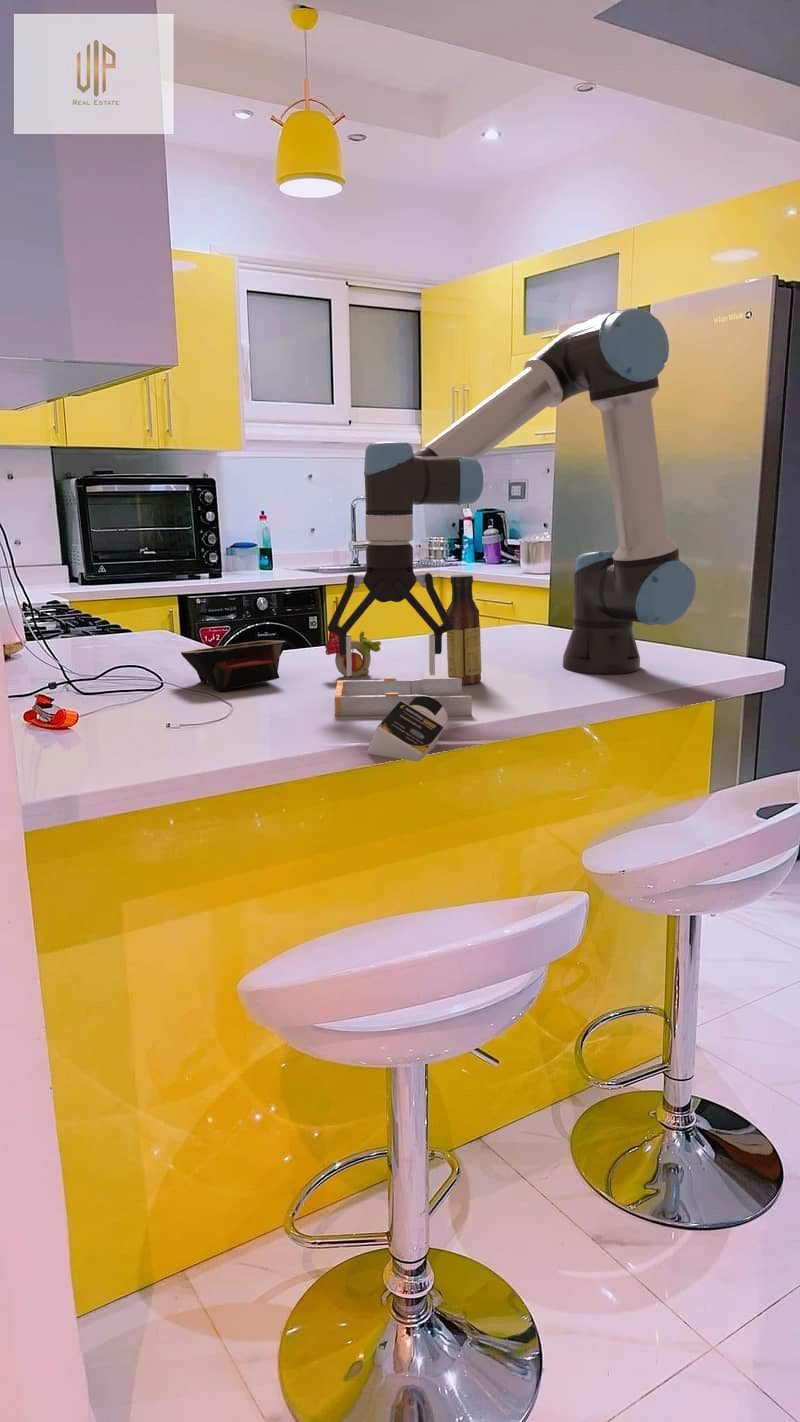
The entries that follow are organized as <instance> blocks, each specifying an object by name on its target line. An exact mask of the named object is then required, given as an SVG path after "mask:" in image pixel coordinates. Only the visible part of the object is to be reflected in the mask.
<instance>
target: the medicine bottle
mask: <svg viewBox="0 0 800 1422" xmlns="http://www.w3.org/2000/svg"><path fill="white" fill-rule="evenodd" d="M385 716H386V717H385V718H383V719H382V721H381V722H380V723H379V725H378V726H376V728H375V731H374V734H373V736H372V739H371V741H370V743H369V746H368V749H367V751H366V754H368V755H373V756H380V757H385V758H393V759H399V760H405V761H409V762H410V761H411V762H420V761H421V760H422V759H424V758H425V757H426V756H427V755H428V754H430V752H432V750H433V749H435V747H436V745H437V743H438V740H440V736H442V732H443V731H444V729H445V727H446V726H447V725H448V716H447V713H446V711H445V709H444V707H443V706H442V705H441V704H440V703H439V702H438V701H437V700H435V699H433V698H431V697H428V696H418V697H416V698H414V699H413V700H412V701H411V702H410V704H409V705H408V704H406V703H405V702H403V701H400V702H399V703H398V704H397V705H396V706H395V707H394V709H393V710H392V711H391V712H390V713H389V714H388V715H385Z"/></svg>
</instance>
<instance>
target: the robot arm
mask: <svg viewBox="0 0 800 1422" xmlns="http://www.w3.org/2000/svg"><path fill="white" fill-rule="evenodd" d="M669 352H670V344H669V338H668V334H667V331H666V330H665V327H664V326H663V324H662V322H661V321H660V320H659V319H658V318H657V317H655V316H654V315H653V314H652V312H649V311H648V310H645V309H643V308H639V307H638V308H636V307H635V308H628V309H627V308H625V309H618V310H616V311H612V312H610V313H607V314H604V315H601V316H598V317H595V318H592V319H589V320H584V321H581V322H579V323H577V324H574V325H573V326H571V327H569V328H568V329H566V330H564V331H563V332H562V333H561V334H560V335H558V336H557V337H556V338H555V339H553V340H552V341H550V343H548V344H547V345H545V346H544V347H543V348H542V349H540V351H538V352H537V353H536V354H534V355H533V356H532V357H530V359H529V358H528V360H527V361H526V362H525V364H524V365H523V371H521V372H520V373H519V374H518V375H517V376H515V377H514V378H512V379H511V380H510V381H508V382H507V383H506V384H505V385H503V386H501V388H499V389H498V390H496V391H495V392H494V393H492V394H491V395H490V396H489V397H487V398H486V399H484V401H482V402H481V403H479V404H478V405H477V406H476V407H474V408H472V410H470V411H469V412H467V413H466V414H464V416H462V417H461V418H460V419H458V420H457V421H455V422H453V424H451V426H449V427H448V428H446V429H445V430H443V431H442V432H441V433H440V434H438V435H437V436H435V438H433V439H432V440H430V441H429V442H427V443H426V444H424V446H423V447H421V448H420V449H418V450H417V451H415V452H414V449H413V445H412V444H411V443H409V442H406V441H405V442H401V441H381V442H380V441H379V442H371V443H369V444H368V445H367V447H366V448H365V453H364V454H365V456H364V471H363V476H364V491H365V492H364V493H365V494H364V496H365V497H364V498H365V500H364V501H365V518H364V519H365V520H364V521H365V540H366V541H367V542H369V544H367V545H366V547H365V563H366V564H365V574H364V575H357V574H354V573H349V574H348V575H347V577H346V584H345V585H346V586H345V590H344V591H343V594H342V595H341V598H340V600H339V603H338V604H337V607H336V608H335V611H333V612H334V613H333V614H332V617H331V619H330V622H329V623H328V626H327V631H328V632H333V633H335V634H337V635H338V636H339V653H340V655H346V660H347V676H352V661H351V652H352V649H351V641H352V634H349V633H348V632H349V631H350V630H351V629H352V628H353V626H354V625H355V624H356V623H357V621H358V620H359V619H360V617H361V616H362V615H363V614H364V613H365V612H366V610H367V609H368V608H369V607H370V606H371V605H372V604H373V602H374V601H375V600H376V601H377V602H380V603H387V602H388V603H389V602H394V603H400V602H403V601H404V600H405V601H407V602H408V604H409V605H410V606H411V607H412V608H413V610H415V611H416V613H417V615H419V616H420V618H421V619H422V620H423V621H424V622H425V623H426V624H427V626H428V627H429V628H430V629H431V630H432V631H433V632H432V633H429V635H428V637H429V638H428V639H429V640H428V642H429V644H428V645H429V646H428V648H429V649H428V652H429V653H428V658H429V659H428V667H429V669H428V670H429V675H430V676H436V655H441V654H442V652H443V651H442V650H443V649H442V647H443V643H442V642H443V638H442V637H443V634H444V633H447V631H451V630H452V629H453V625H452V623H451V621H450V619H449V617H448V615H447V613H446V612H447V610H446V609H445V608H444V605H443V603H442V601H441V599H440V597H439V595H438V593H437V591H436V589H435V585H434V578H433V575H432V574H431V573H430V572H425V574H417V575H415V572H414V547H413V545H412V544H411V543H410V542H412V541H413V540H414V511H413V510H414V505H415V506H417V505H432V506H433V505H435V506H436V505H442V506H443V505H445V506H446V505H457V506H461V505H471V504H474V503H476V502H477V501H478V500H479V499H480V497H481V494H482V493H483V488H484V472H483V471H484V470H483V468H482V466H481V463H480V462H479V459H481V458H482V457H483V456H484V455H486V454H487V453H489V451H491V450H492V449H494V448H495V447H496V446H498V445H499V444H500V443H501V442H503V441H504V440H506V439H507V438H508V437H509V436H511V435H512V434H514V433H515V432H516V431H517V430H518V429H520V428H521V427H523V426H524V425H525V424H526V423H528V422H529V421H530V420H531V419H533V418H534V417H536V416H537V415H538V414H540V413H541V412H542V411H544V410H545V409H546V408H556V407H558V406H559V405H561V404H562V403H563V402H564V401H566V400H567V399H569V398H571V397H573V396H576V395H580V394H581V393H585V392H588V393H589V401H590V404H592V405H593V406H594V407H596V409H598V410H599V411H600V415H601V421H602V429H603V430H602V431H603V435H604V444H605V450H606V458H607V459H606V460H607V465H608V472H609V473H608V474H609V480H610V485H611V486H610V487H611V493H612V501H613V508H614V509H613V510H614V516H615V517H614V518H615V523H616V524H615V525H616V532H617V538H618V547H617V549H616V550H602V551H593V552H585V553H581V554H580V555H578V556H577V558H576V560H575V565H574V571H573V577H574V581H573V582H574V583H573V584H574V585H573V616H572V617H573V619H572V631H571V633H570V636H569V640H568V642H567V645H566V648H565V650H564V653H563V657H562V668H563V669H565V670H569V671H572V672H577V673H584V674H585V673H586V674H598V675H599V674H601V675H602V674H603V675H605V674H606V675H613V674H614V675H615V674H616V675H617V674H618V675H619V674H628V673H634V672H637V671H639V670H641V669H640V668H641V656H640V653H639V649H638V645H637V642H636V638H635V635H634V631H633V629H634V627H633V625H634V622H636V623H641V624H644V625H647V626H656V625H657V626H668V625H671V624H674V623H676V622H677V621H678V620H680V619H681V618H682V617H683V616H684V615H685V614H686V613H687V611H688V608H689V607H691V605H692V604H693V602H694V599H695V594H696V592H697V591H696V589H697V583H696V582H697V581H696V576H695V573H694V572H693V569H692V568H691V567H689V566H688V564H686V563H685V562H683V561H681V560H680V553H679V546H678V544H677V543H675V541H673V540H672V539H670V538H669V536H668V528H667V527H668V526H667V518H666V512H665V511H666V510H665V502H664V495H663V487H662V486H663V485H662V478H661V477H662V476H661V470H660V462H659V455H658V444H657V437H656V429H655V421H654V413H653V404H652V400H653V398H654V396H655V395H656V393H657V392H658V391H659V389H660V383H659V375H660V374H661V372H663V370H664V369H665V367H666V365H665V363H667V362H668V358H669V356H670V355H669V354H670V353H669ZM362 583H363V584H364V586H365V588H367V590H368V591H369V592H368V593H367V594H366V595H365V596H364V598H363V599H362V601H361V602H360V603H359V604H358V606H356V608H355V609H354V611H353V612H352V613H351V614H350V616H349V617H348V618H347V619H346V620H345V621H344V622H343V624H342V625H338V624H339V623H340V620H341V618H342V616H343V614H344V611H345V610H346V607H347V605H348V603H349V601H350V599H351V597H352V596H353V595H352V594H353V592H354V589H358V588H359V587H360V585H361V584H362ZM416 583H419V585H420V586H421V587H422V588H423V589H426V592H427V594H428V596H429V598H430V600H431V602H432V604H433V607H434V608H435V611H436V612H437V614H438V616H439V618H440V620H441V622H442V624H438V623H437V622H436V620H435V619H434V618H433V617H432V615H430V614H429V613H428V611H427V610H426V609H425V607H423V605H422V604H421V603H420V602H419V601H418V599H417V598H416V597H415V595H413V594H412V592H411V590H412V589H413V588H414V586H415V585H416Z"/></svg>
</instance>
